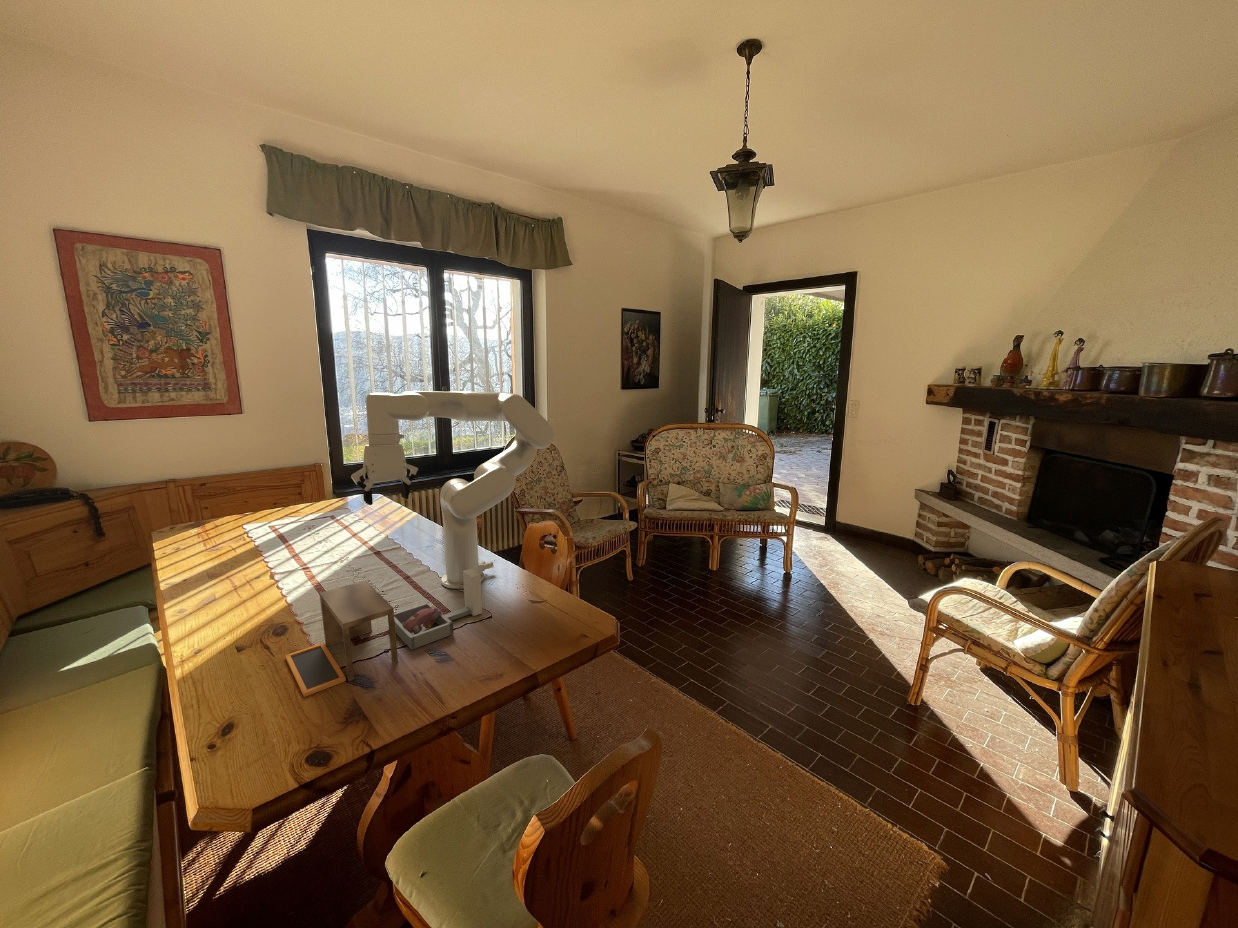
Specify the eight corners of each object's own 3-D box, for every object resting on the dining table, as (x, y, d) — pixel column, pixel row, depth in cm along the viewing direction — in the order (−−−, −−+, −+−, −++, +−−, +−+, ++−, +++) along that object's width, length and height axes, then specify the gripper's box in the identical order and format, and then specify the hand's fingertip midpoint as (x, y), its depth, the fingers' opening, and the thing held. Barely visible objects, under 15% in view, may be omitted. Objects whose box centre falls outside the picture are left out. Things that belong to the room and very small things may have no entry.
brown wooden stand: (370, 629, 123) (365, 580, 121) (398, 662, 110) (393, 607, 107) (325, 644, 117) (319, 592, 114) (349, 681, 103) (342, 624, 101)
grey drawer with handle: (465, 600, 138) (463, 563, 136) (490, 619, 128) (489, 580, 126) (389, 625, 124) (385, 585, 122) (411, 649, 114) (408, 606, 112)
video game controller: (406, 646, 119) (412, 626, 116) (395, 633, 120) (400, 613, 118) (440, 627, 127) (446, 608, 124) (429, 615, 129) (435, 596, 126)
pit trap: (323, 645, 116) (323, 642, 116) (345, 680, 104) (345, 677, 103) (285, 658, 111) (285, 655, 111) (304, 697, 98) (303, 693, 98)
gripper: (409, 435, 141) (412, 493, 144) (344, 440, 129) (348, 503, 132) (421, 438, 136) (424, 498, 139) (354, 444, 124) (359, 509, 127)
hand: (387, 500), depth 136 cm, fingers open, 9 cm apart
